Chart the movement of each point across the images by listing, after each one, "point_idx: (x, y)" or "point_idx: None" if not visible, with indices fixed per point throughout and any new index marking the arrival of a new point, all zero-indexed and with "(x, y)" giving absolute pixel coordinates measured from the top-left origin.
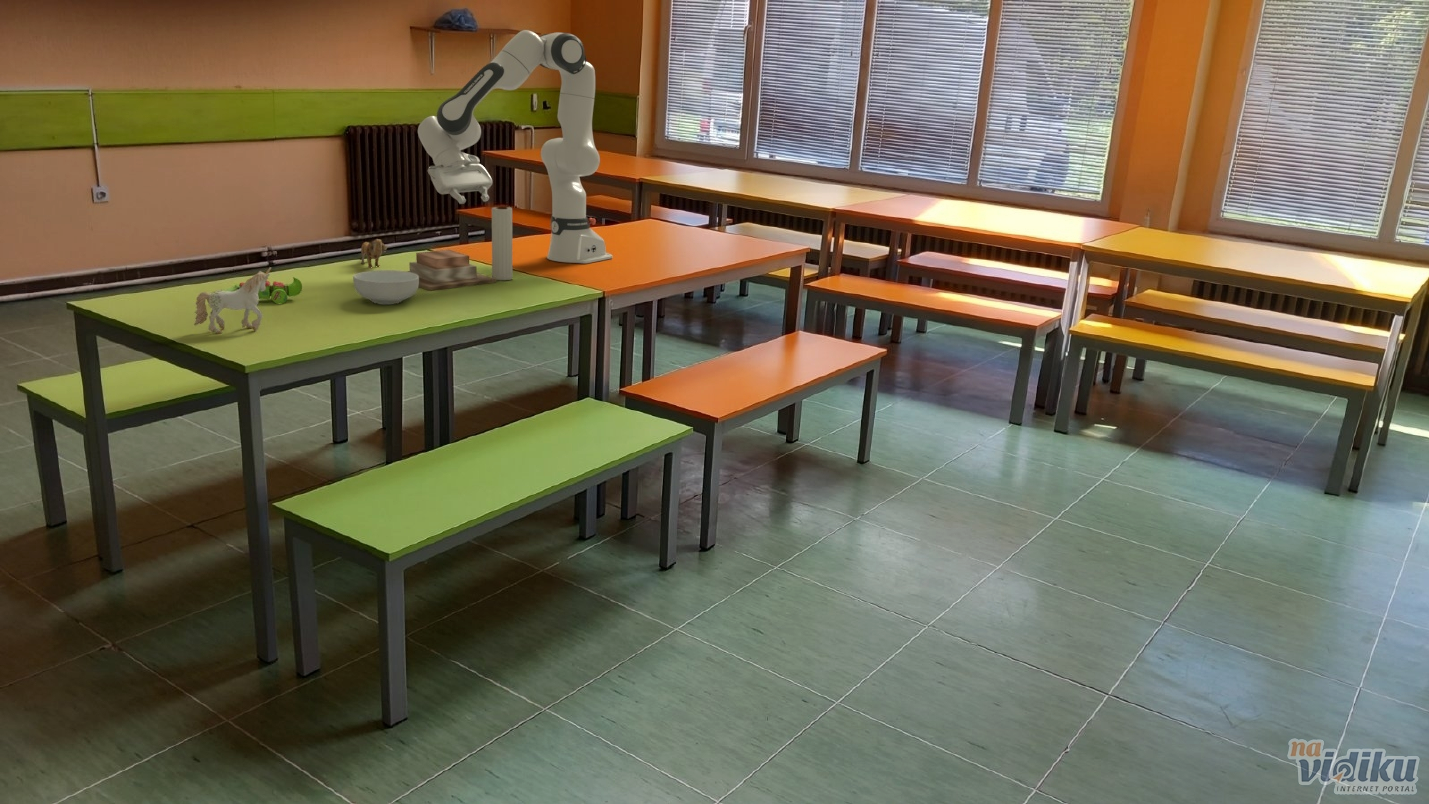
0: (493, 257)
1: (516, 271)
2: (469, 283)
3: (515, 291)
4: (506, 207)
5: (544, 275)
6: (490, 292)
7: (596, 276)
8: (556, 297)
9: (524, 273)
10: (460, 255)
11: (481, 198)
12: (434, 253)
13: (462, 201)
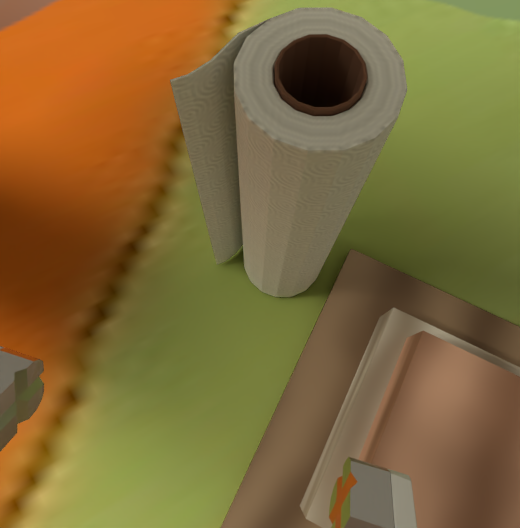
0: (329, 252)
1: (127, 282)
2: (460, 301)
3: (427, 138)
4: (282, 51)
5: (143, 167)
6: (493, 193)
7: (72, 31)
8: (417, 17)
9: (147, 240)
10: (445, 370)
11: (13, 435)
12: (495, 520)
13: (403, 474)
